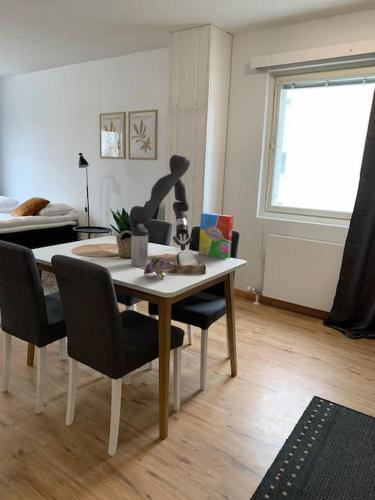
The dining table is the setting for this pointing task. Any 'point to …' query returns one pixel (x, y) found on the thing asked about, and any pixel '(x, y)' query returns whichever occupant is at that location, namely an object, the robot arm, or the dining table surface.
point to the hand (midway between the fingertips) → (183, 250)
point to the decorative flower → (157, 266)
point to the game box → (215, 235)
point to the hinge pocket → (189, 269)
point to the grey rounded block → (185, 258)
